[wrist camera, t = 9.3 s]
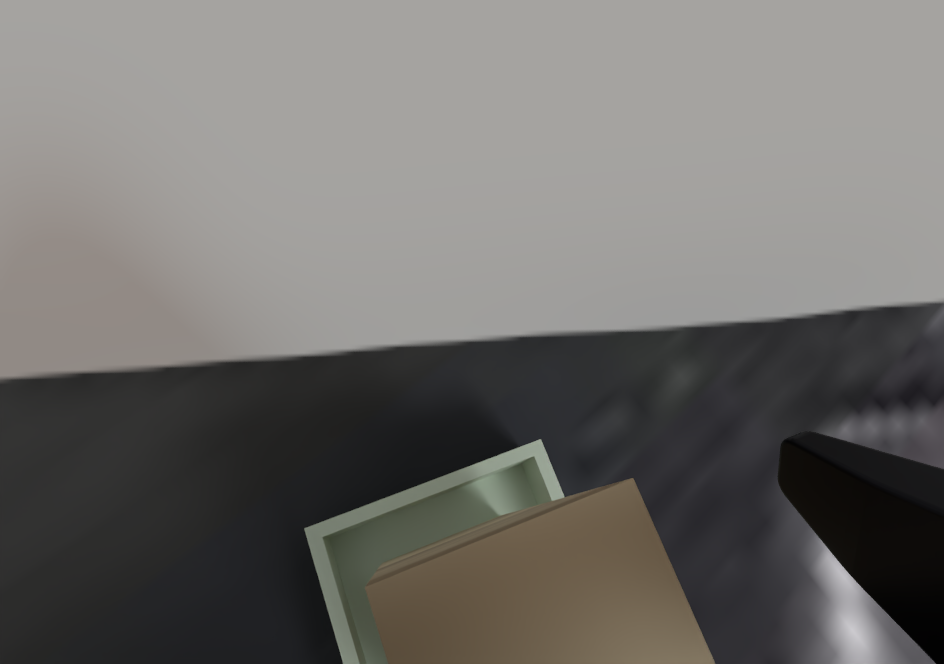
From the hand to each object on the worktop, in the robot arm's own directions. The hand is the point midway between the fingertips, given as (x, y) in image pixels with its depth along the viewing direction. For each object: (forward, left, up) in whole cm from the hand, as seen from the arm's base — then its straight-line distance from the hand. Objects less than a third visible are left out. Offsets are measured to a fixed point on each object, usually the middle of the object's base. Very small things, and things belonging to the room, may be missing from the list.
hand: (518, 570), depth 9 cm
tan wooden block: (-1, +1, -12) cm, 12 cm away
